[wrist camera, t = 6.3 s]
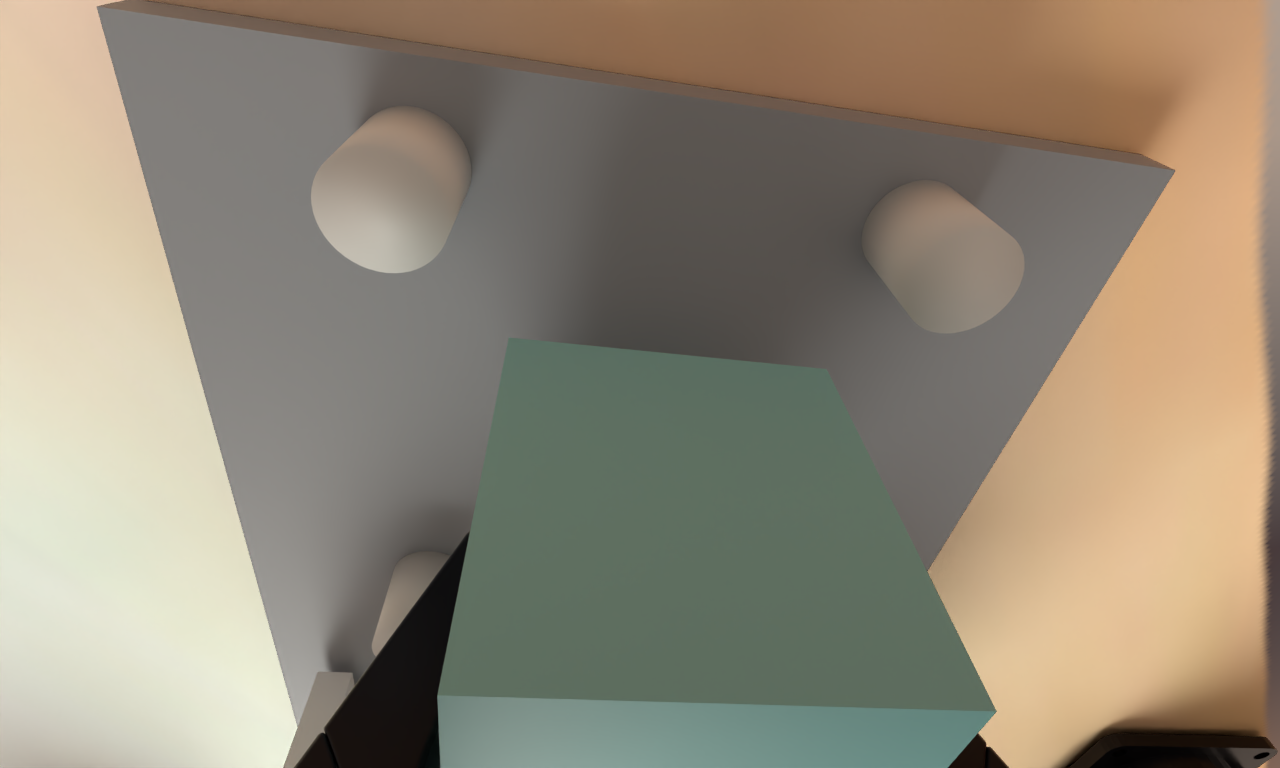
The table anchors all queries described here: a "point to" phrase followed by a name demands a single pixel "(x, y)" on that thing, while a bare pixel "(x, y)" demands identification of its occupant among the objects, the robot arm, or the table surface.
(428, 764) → the robot arm
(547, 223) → the base plate
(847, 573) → the block
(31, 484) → the table surface
